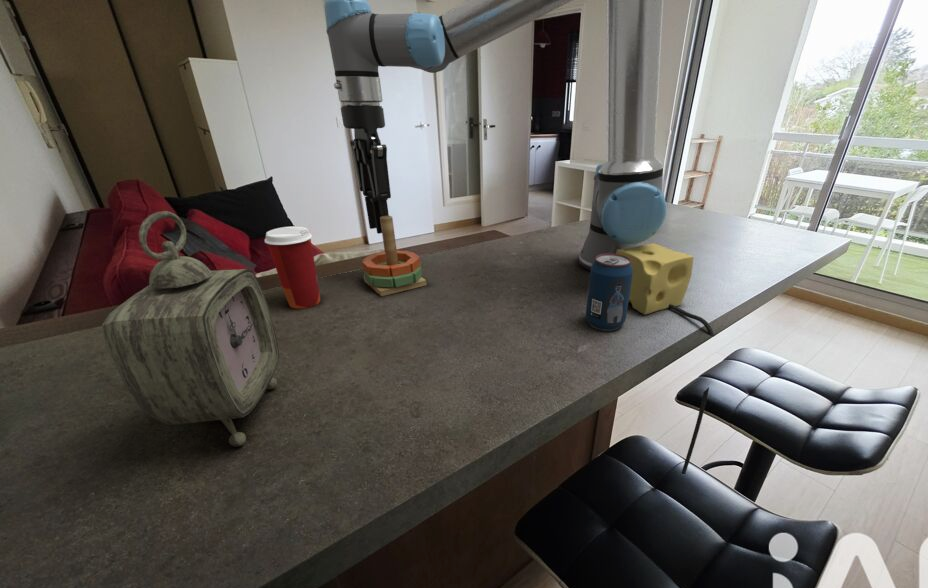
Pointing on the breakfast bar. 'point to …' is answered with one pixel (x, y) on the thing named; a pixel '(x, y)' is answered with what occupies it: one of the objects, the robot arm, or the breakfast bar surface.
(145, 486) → the breakfast bar surface
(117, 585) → the breakfast bar surface
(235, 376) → the tabletop clock
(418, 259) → the terracotta ring
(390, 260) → the post stand
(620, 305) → the soda can
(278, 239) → the paper cup
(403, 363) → the breakfast bar surface
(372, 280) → the green ring
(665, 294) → the cheese
